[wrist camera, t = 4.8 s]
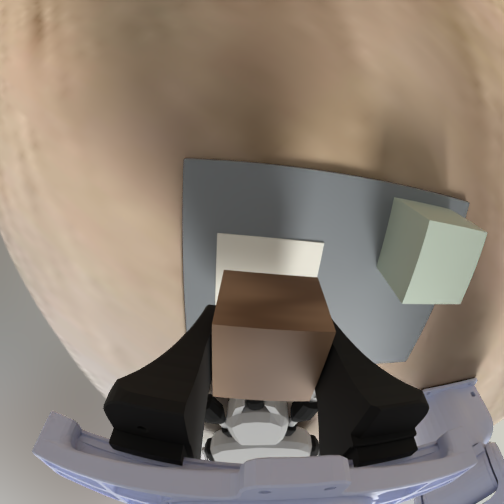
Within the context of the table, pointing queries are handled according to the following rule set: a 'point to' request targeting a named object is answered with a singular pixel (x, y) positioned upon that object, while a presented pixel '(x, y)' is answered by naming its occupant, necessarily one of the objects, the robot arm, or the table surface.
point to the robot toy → (259, 430)
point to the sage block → (429, 253)
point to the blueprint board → (302, 242)
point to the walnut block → (269, 336)
